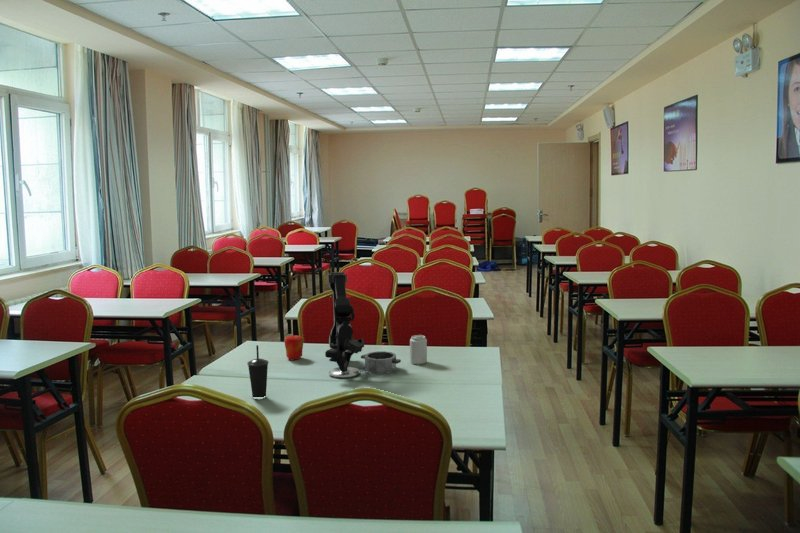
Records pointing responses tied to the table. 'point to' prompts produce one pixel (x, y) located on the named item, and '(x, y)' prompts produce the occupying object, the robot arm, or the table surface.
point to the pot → (380, 362)
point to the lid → (344, 371)
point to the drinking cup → (258, 375)
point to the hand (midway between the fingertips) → (344, 369)
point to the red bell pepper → (293, 346)
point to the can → (418, 349)
